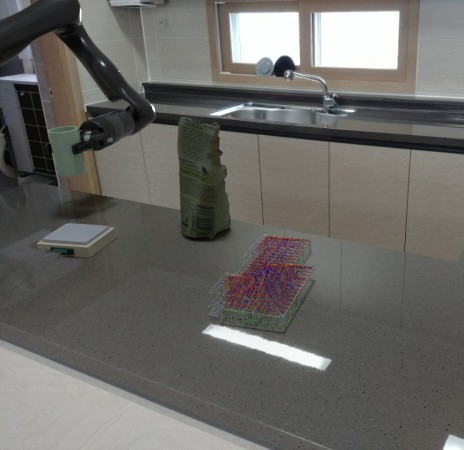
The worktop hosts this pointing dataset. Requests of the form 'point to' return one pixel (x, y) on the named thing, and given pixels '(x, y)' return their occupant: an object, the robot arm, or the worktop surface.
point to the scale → (78, 239)
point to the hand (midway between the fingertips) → (60, 149)
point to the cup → (66, 151)
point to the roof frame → (254, 265)
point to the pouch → (201, 180)
